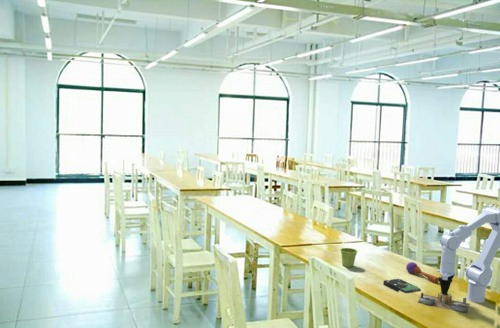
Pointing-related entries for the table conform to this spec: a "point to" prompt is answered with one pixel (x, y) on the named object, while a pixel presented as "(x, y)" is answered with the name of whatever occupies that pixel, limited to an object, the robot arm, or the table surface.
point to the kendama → (415, 269)
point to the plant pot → (348, 256)
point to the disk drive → (400, 285)
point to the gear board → (452, 305)
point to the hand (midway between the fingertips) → (445, 291)
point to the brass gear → (445, 297)
